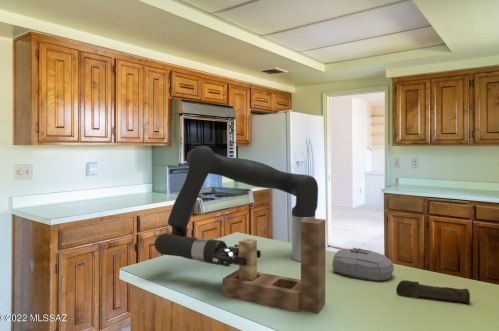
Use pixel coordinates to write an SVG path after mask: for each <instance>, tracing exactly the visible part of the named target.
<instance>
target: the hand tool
mask: <svg viewBox="0 0 499 331" xmlns="http://www.w3.org/2000/svg"><path fill="white" fill-rule="evenodd" d="M395 290H396V294H397V295H400V296H403V297H408V298H414V299H418V298H428V299H429V298H430V299H437V300H444V301H451V302H462V303H466V305H468V304H469V305H470V302H471V301H470V300H471V294H470V293H471V292H470V290H469V289H468V288H454V287H446V286H444V287H442V286H433V285H428V284H427V285H426V284H422V283H421V284H420V282H419V281H412V280H403V279H402V280H400V281H399V282H398V285H397V286H396V289H395Z"/></svg>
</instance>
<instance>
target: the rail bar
mask: <svg viewBox="0 0 499 331" xmlns="http://www.w3.org/2000/svg"><path fill="white" fill-rule="evenodd" d="M257 244H258V240H257V239H254V238H253V239H250V238H244V239H241V240H239V241H238V245H239V257H244V258H247V265H246V266H242V265H238V269H239V279H241V280H246V281H251V282H252V281H254V280H255V279H257V272H258V258H257V250H258V248H257V247H258V246H257Z"/></svg>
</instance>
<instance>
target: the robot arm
mask: <svg viewBox="0 0 499 331" xmlns="http://www.w3.org/2000/svg"><path fill="white" fill-rule="evenodd" d="M185 158H186V160H185V161H186V165H187V166H188V171H187V173H186V174H187V175H186V177H185V180H184V182H183V185H182V187H181V189H180V190H179V193H178V194H177V197H176V198H175V200H174V203H173V206H172V208H171V211H170V213H169V216H168V220H167V224H168V226H169V227H171V233H165V232H164V233H162V234H159V235H158V236H157V237H156V238H155V239H154V244H153V245H154V249H155V251H156V252H158V253H159V254H160V255H163V256H164V255H165V256H173V257H182V258H184V259H188V260H193V261H198V262H201V263H206V264H209V265H210V264H211V265H217V266H223V267H227V268H228V267H230V266H235V265H238V266H239V265H242V266H246V265H247V258H244V257H239V244H234V246H232V245H231V246H227V243H226V242H225V241H224V240H219V239H212V238H199V237H193V236H187V235H188V234H187V233H188V224H189V222H190V219H191V217H192V214H193V211H194V209H195V205H196V202H197V200H198V197H199V195H200V192H201V190H202V187H203V185H204V183H205V182H206V179H207V178H208V176H209V175H217V176H221V177H224V178H226V179H230V180H232V181H235V182H238V183H241V184H245V185H249V186H251V187H257V188H262V189H274V190H279V191H282V192H285V193H287V194H289V195H292V196H295V205H294V206H293V207H292V208H291V259H292V260H294V261H296V262H297V261H298V262H301V222H302V221H303V220H305V219H307V218H314V219H316V211H317V209H318V204H319V203H318V202H319V201H318V199H319V185H318V182H317V180H316V178H315V177H314V176H312V175H307V174H301V173H300V174H299V173H293V172H287V171H286V172H285V171H282V170H278V169H277V168H274V167H272V166H270V165H267V164H266V163H263V162H260V161H256V160H251V159H246V158H240V157H229V156H223V155H220V154H217V153H215V152H214V151H213V149H212V148H211V147H209V146H208V145H207V146H206V145H198V146H195V147H194V148H191V150H190V151H188V152H187V154H186V157H185ZM261 253H262V252H261V250H260V249H259V250H258V249H257V259H260V258H261V256H262V255H261Z"/></svg>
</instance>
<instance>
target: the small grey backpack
mask: <svg viewBox="0 0 499 331" xmlns="http://www.w3.org/2000/svg"><path fill="white" fill-rule="evenodd" d="M331 265H332V269H333V271H334V272H335V273H338V274H339V275H343V276H346V277H351V278H355V279H360V280H367V281H387V280H389V279H391V278H392V274H393V272H394V270H395V268H394V263H393V261H392V260H391V259H389V257H387V255H384V254H381V253H379V252H375V251H374V250H373V251H372V250H369V249H368V250H367V249H364V248H356V247H353V248H346V249H340V250H338V251H336V253H334V255H333V258H332V264H331Z"/></svg>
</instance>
